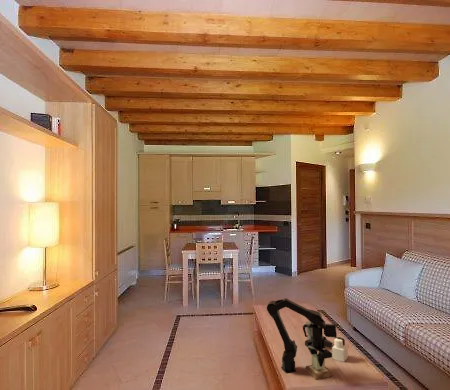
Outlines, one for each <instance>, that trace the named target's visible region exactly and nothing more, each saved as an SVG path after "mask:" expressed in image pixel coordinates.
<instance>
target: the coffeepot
mask: <svg viewBox="0 0 450 390" xmlns="http://www.w3.org/2000/svg"><path fill="white" fill-rule="evenodd" d="M310 323H311V322H310V321H309V320H307V321H306V322H305V324H303V326H302V330H303V334H304V336H305V338H307V339H306V340H310V339H311V336H312V328H309V327H308V325H309V324H310ZM308 348H309V346H308V347H307V349H308Z"/></svg>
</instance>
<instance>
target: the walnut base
mask: <svg viewBox="0 0 450 390" xmlns="http://www.w3.org/2000/svg"><path fill="white" fill-rule="evenodd" d="M305 371H306V372H307V373H308V374H309V375H310V376H311V377H312V378H314V379H315V380H320V379H324V378H331V377H333V371H331V370H330V369H329V368H328V367H327V366H325V368H324V369H319V370H317V369H316V368H314V367H313V366H312V364H310V365H305Z"/></svg>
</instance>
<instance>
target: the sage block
mask: <svg viewBox="0 0 450 390" xmlns="http://www.w3.org/2000/svg"><path fill="white" fill-rule="evenodd" d="M317 355H318V353H317V354H313V355H311V365H312V366H313V367H314V368H316V369H317V370H319V369H324V368H325V367H326V361H325V360H326V359H324V362H323V365H322V366H321V367H320V365H319V362H318V359H317Z"/></svg>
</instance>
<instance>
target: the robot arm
mask: <svg viewBox="0 0 450 390" xmlns="http://www.w3.org/2000/svg"><path fill="white" fill-rule="evenodd" d="M284 308H286V309H289V310H291V311H293V312H295V313H297V314H299V315H301V316H302V317H304V318H306V319H307V321H310V322H311V323H310V324H309V325H308V327H309V328H312V336H311V339H310V340H307V339H305V341H304V346H305V347H306V348H307V349H308V351H309V352H310V353H309V354H310V355H311V356H312V355H313V354H318V355H317V359H318V362H319V365H320V367H321V366H322V365H323V362H324V359H325V360H326V359H331V358H332V351H330V350H328V349H326V348H329V349H331V350H332V347H333V344H334V343H333V342H332V341H331V340H329V339H327V338H333V339H335V338H337V337H338V336H337V328H336V326H337V325H336V324H334V323H326V321H325V320H324V319H323V316H322V313H321V312H319V311H318V310H313V309H308V308H306V307H304V306H302V305H300V304H298V303H296V302H295V301H293V300H290V299H289V298H287V297H285V298H283V299H277V300H270V301H269V302H268V304H267V305H266V311H267V313H268V314H269V316H270V317H271V318H272V320H273V321H274V324H275V326H276V328H277V330H278V332H279V334H280V335H279V336H280V338H281V340H282V342H283V347H284V348H283V349H284V350H283V353H282V357H281V363H282V364H281V370H282V371H283V372H284V373H285V374H287V373H289V374H290V373H293V372H297V369H296V361H295V358H297V357H296V356H297V351H298V346H297V344H296V341H295V339H293V340H292V339H291V338H290V336H289V333H288V331H287V329H286V326H285V324H284V321H283V319H282V317H281V314H280V310H282V309H284ZM308 346H309V348H308ZM332 359H333V358H332Z"/></svg>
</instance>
